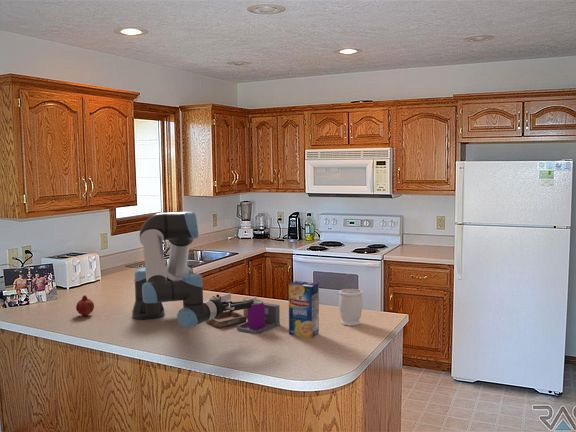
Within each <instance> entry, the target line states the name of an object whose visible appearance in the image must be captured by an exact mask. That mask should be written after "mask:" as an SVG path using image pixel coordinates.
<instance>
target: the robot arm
mask: <svg viewBox="0 0 576 432" xmlns="http://www.w3.org/2000/svg"><path fill="white" fill-rule="evenodd" d="M198 227H199V226H198V221H197V215H196V213H195V212H193V211H176V212H174V211H173V212H158V213H155V214H152V215H151V216H150V217H148V218H147V219H146V220H145V221H144V222H143V224H142V226H141V227H140V231H139V241H140V244H141V245H142V246H143V249H142V250H143V257H144V267H141V268H139V269H137V270H136V271H135V272H134V296H135V300H134V304H133V307H132V310H131V312H132V314H131V315H132V318H133V319H137V320H152V319H153V320H154V319H156V318H157V319H158V318H161V317H163V316H164V315H165V307H164V305H163V303H169V302H182V307H181V308H180V309H179V310H178V312H177V315H176V319H177V322H178V324H179V325H180V326H181V327H183V328H184V329H188V328H192V327H196V326H197V325H200V324H202V323H203V324H204V323H207V321H208V320H211V319H213V318H216V317H219V316H221V315H222V313H223V312H225V311H229V310H230V312H233V311H235V312H237V311H241V310H243V309H249V308H252V305H253V304H256V303H257V300H258V298H257V296H253V297H249V298H250V299H247V300H246V301H243V300H242V301H241V300H239V301H232V293H231V292H228V293H225V294H222V295H220V294H216V295H211V297H210V298H209V299H208V300H204V285H203V276H202V274H200V273H194V272H193V273H192V271H191V268H189V267H188V266H187V263H188V260H189V254H190V245H191V244H192V243H193V241H194V240H195V239H198V238H199V228H198ZM167 240H168V242H169V253H168V254H169V255H168V256H169V257H168V264H167V265H166V262H165V255H164V247H163V242H164V241H167Z"/></svg>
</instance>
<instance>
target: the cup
mask: <svg viewBox="0 0 576 432" xmlns="http://www.w3.org/2000/svg"><path fill="white" fill-rule="evenodd" d="M250 298H251V297H245V298H243V299H242V301H246V300H247V299H250ZM242 310H243V315H245V316H246V319H248V315H247V309H242Z"/></svg>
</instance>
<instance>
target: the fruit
mask: <svg viewBox="0 0 576 432" xmlns="http://www.w3.org/2000/svg"><path fill="white" fill-rule="evenodd" d="M75 309H76V311H77V313H78V314H80V315H81V316H83V317H84V316H88V315H90V314H91V313H93V311H94V309H95V303H94V302H93V300H91V299H90V298H88V296H87V295H83V296H82V297H81V299H79V300H78V301H77V303H76V305H75Z"/></svg>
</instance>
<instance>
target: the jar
mask: <svg viewBox="0 0 576 432" xmlns="http://www.w3.org/2000/svg"><path fill="white" fill-rule="evenodd" d="M338 294H339V299H338V300H339V301H338V307H339V313H340V317H341V324H342V325H344V326H349V327H353V326H359V325H361V321H360V320H361V317H362V311H363V307H364V306H363V304H364V303H363V296H362V295H363V290H361V289H357V288H344V289H343V288H342V289H340V290H339V291H338Z"/></svg>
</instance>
